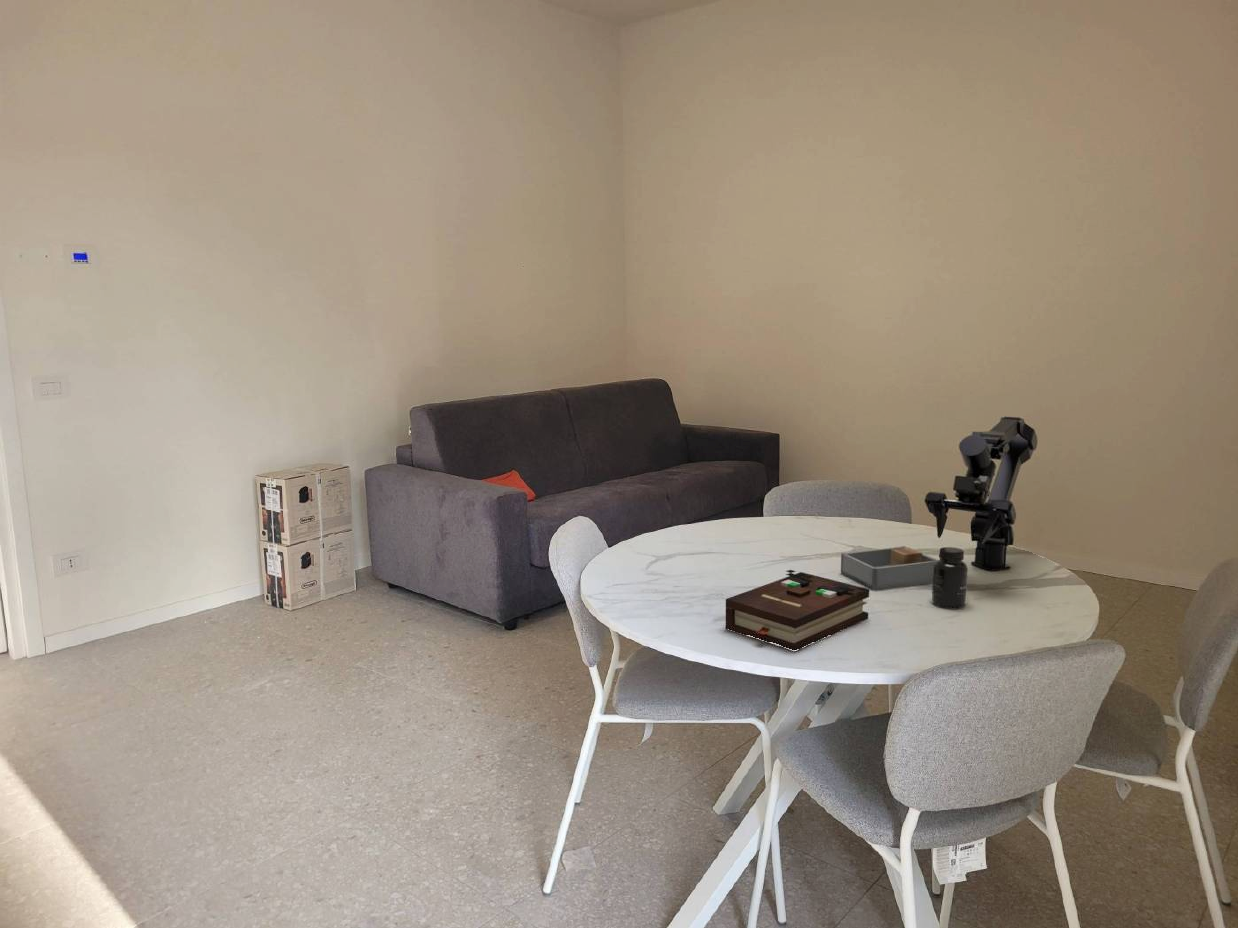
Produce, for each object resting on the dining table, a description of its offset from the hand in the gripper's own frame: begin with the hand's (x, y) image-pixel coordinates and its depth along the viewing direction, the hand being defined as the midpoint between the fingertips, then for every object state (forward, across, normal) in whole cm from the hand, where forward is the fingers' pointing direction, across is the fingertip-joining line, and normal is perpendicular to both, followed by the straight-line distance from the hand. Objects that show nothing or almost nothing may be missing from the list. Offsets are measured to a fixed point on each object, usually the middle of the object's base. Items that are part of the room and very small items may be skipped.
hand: (959, 540), depth 200 cm
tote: (+8, -16, +10) cm, 20 cm away
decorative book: (+35, -20, -19) cm, 45 cm away
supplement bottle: (+15, +1, +2) cm, 15 cm away
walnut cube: (+4, -14, +12) cm, 19 cm away
